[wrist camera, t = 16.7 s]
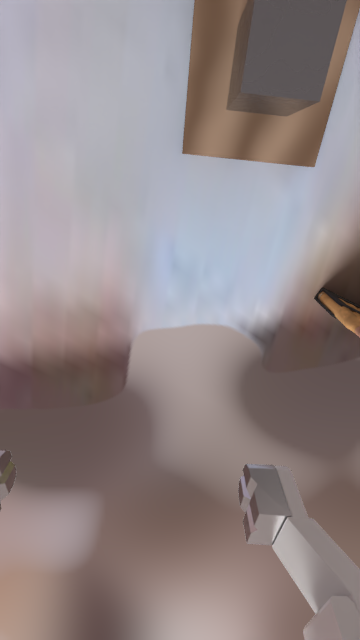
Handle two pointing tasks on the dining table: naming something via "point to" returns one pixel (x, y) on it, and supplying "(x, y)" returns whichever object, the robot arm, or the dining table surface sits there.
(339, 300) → the brown slatted box
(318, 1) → the grey square block
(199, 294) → the dining table surface
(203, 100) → the base plate
